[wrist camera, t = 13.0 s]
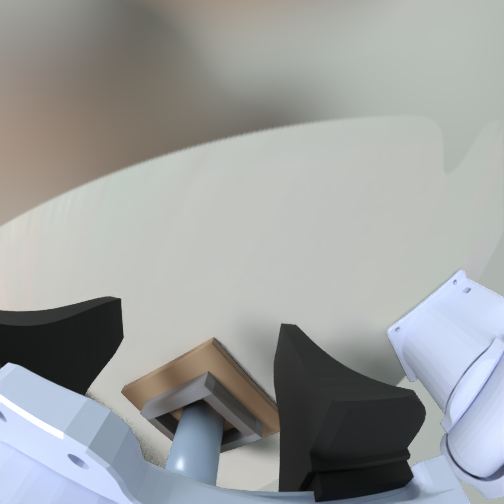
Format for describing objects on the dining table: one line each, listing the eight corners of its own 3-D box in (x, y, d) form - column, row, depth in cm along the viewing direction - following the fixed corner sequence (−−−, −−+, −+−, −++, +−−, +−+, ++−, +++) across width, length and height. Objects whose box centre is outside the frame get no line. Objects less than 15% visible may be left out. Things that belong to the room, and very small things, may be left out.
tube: (205, 394, 22) (189, 464, 14) (233, 419, 23) (226, 487, 15) (174, 408, 22) (152, 472, 15) (201, 431, 23) (189, 494, 15)
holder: (213, 337, 22) (207, 357, 19) (290, 419, 24) (292, 440, 21) (124, 386, 23) (112, 404, 20) (199, 452, 25) (195, 471, 22)
